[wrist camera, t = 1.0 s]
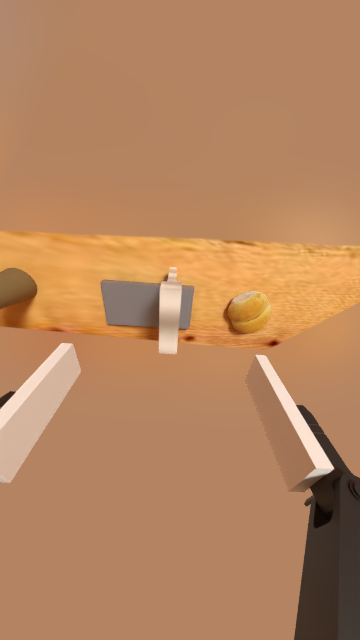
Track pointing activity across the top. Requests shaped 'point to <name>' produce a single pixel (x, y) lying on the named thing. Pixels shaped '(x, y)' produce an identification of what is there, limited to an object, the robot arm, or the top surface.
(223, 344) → the top surface
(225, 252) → the top surface
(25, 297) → the olive mushroom
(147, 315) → the board
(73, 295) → the top surface
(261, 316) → the bread roll
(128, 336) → the top surface
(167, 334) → the gate
